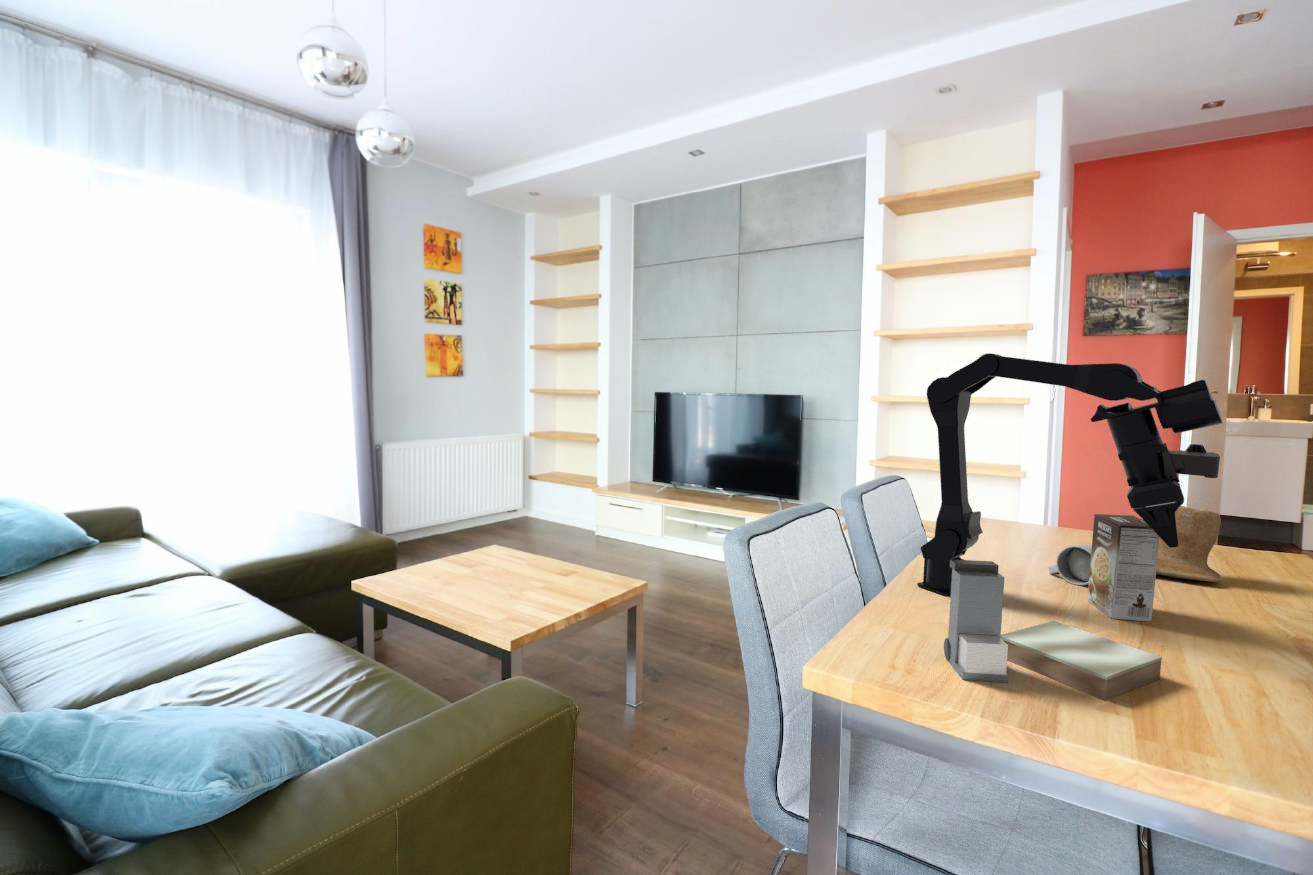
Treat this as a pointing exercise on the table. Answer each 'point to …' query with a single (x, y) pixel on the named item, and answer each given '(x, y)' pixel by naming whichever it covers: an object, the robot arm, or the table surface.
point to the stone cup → (1190, 546)
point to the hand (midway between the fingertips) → (1173, 539)
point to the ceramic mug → (1074, 564)
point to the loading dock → (1082, 659)
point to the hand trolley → (976, 622)
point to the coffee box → (1123, 567)
